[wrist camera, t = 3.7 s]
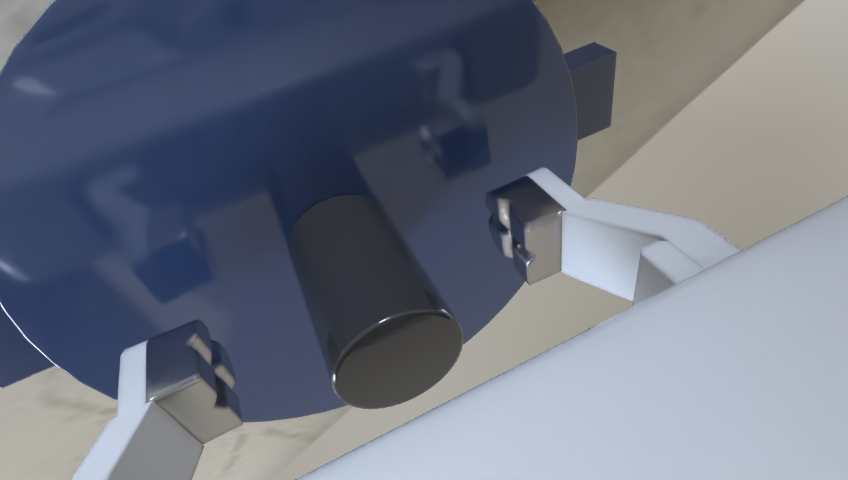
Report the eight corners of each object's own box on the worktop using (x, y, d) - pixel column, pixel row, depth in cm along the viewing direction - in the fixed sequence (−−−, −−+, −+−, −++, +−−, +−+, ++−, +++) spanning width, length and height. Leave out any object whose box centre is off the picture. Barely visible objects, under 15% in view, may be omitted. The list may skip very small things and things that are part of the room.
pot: (-127, -17, 14) (-445, 145, 7) (439, -176, 17) (662, -190, 10) (132, 276, 23) (123, 493, 15) (478, 134, 26) (613, 254, 18)
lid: (-269, 40, 7) (-739, 263, 3) (549, -194, 9) (809, -217, 6) (200, 448, 16) (215, 629, 12) (553, 277, 19) (654, 386, 15)
